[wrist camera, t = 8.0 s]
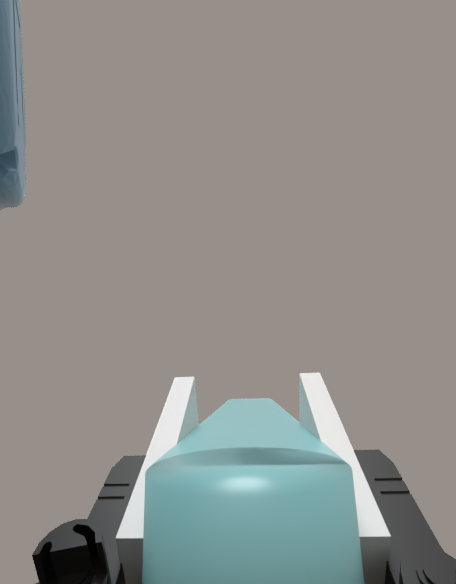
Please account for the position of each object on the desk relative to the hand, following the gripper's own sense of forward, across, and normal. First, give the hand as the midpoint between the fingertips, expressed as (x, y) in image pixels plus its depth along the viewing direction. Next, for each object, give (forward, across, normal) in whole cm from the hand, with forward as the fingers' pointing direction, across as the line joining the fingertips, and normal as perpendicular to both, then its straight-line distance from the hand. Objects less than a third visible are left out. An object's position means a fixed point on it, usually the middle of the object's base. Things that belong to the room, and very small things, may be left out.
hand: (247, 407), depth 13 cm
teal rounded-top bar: (+4, 0, -8) cm, 9 cm away
